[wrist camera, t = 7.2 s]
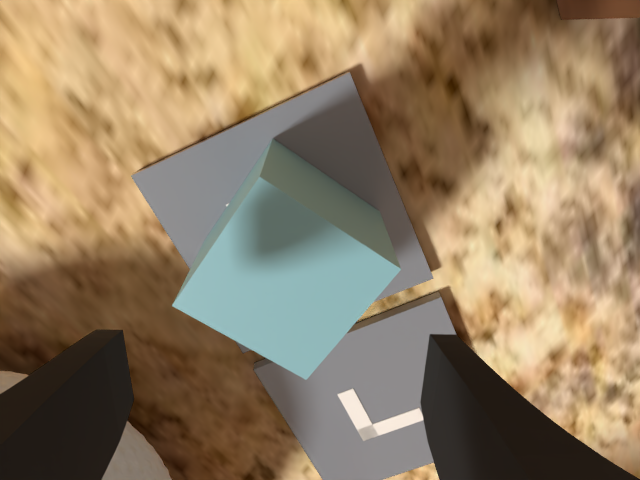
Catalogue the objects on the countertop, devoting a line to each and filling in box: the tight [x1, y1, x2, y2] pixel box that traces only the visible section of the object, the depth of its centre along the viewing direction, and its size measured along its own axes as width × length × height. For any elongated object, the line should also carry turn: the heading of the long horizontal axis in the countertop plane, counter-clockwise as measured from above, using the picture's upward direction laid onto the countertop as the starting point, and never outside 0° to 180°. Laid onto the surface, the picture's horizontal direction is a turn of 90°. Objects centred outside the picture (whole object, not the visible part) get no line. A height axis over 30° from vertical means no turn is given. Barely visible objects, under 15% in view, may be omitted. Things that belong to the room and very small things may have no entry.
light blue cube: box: [172, 139, 401, 380], centre depth 17 cm, size 5×5×5 cm
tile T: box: [131, 71, 433, 353], centre depth 20 cm, size 9×9×1 cm
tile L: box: [253, 292, 456, 480], centre depth 23 cm, size 9×9×1 cm
